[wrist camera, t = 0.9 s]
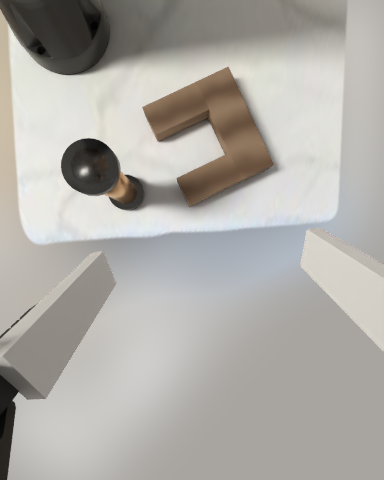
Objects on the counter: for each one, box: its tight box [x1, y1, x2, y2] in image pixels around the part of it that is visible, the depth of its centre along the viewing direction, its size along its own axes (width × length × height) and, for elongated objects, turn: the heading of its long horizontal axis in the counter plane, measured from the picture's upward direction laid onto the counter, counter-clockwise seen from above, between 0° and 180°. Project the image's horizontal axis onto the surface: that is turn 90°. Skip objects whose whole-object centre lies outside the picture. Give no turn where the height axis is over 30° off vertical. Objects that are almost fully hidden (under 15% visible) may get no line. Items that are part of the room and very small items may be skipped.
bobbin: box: [61, 138, 144, 210], centre depth 25 cm, size 6×6×12 cm
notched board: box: [143, 67, 273, 207], centre depth 30 cm, size 18×16×2 cm
